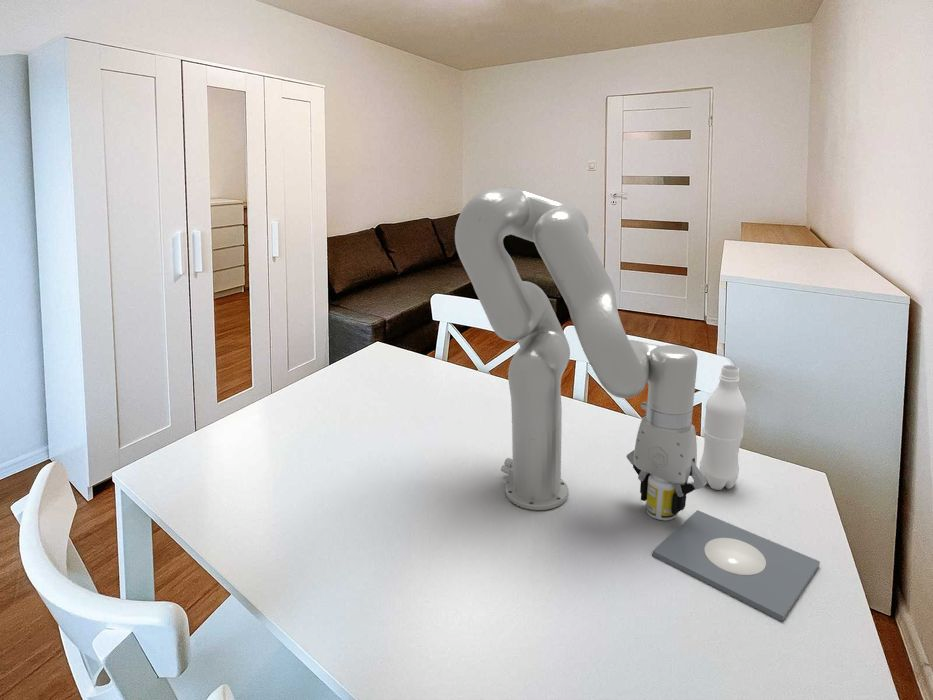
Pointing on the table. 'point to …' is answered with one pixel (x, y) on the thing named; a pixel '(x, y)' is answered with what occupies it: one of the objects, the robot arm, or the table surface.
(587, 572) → the table surface
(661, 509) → the supplement bottle
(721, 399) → the water bottle
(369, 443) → the table surface
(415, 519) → the table surface
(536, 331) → the robot arm
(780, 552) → the slate board
